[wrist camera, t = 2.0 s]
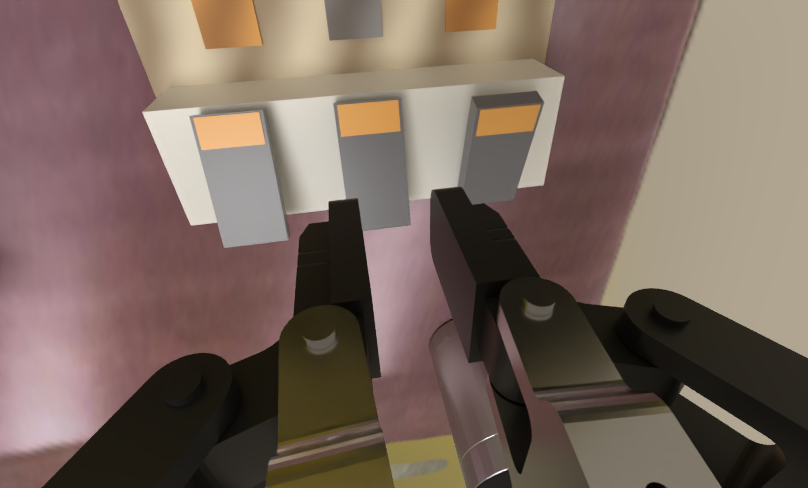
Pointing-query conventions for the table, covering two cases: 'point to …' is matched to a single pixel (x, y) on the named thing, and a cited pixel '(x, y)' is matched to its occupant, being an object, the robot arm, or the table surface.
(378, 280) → the table surface
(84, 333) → the table surface
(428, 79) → the switch box
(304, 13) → the chart board
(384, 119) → the switch middle
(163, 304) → the table surface
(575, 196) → the table surface
